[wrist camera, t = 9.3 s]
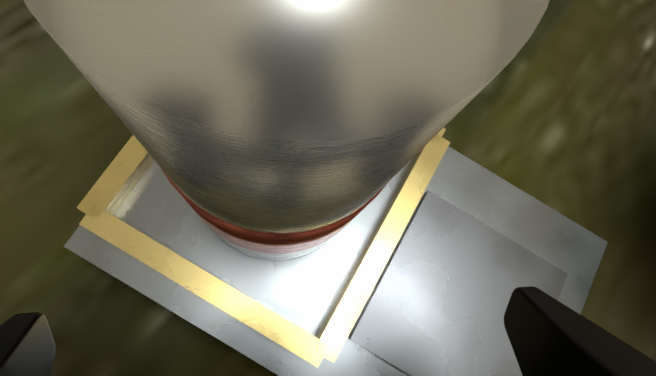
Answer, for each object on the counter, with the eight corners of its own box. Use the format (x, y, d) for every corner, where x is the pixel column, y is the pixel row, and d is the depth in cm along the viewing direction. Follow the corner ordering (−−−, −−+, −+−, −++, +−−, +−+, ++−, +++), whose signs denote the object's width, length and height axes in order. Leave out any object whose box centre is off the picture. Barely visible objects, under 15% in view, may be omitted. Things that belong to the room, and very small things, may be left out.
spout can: (386, 195, 18) (999, -345, 3) (261, 296, 16) (169, 272, 1) (291, 80, 18) (379, -847, 3) (162, 166, 17) (-640, -818, 2)
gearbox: (615, 280, 22) (691, 277, 18) (529, 516, 19) (599, 573, 15) (240, 55, 22) (235, 2, 18) (93, 254, 19) (49, 242, 15)
